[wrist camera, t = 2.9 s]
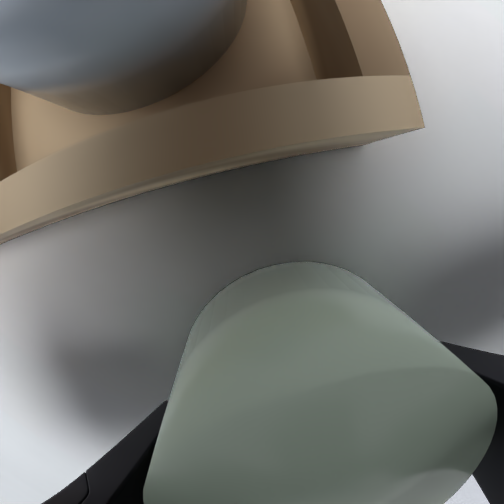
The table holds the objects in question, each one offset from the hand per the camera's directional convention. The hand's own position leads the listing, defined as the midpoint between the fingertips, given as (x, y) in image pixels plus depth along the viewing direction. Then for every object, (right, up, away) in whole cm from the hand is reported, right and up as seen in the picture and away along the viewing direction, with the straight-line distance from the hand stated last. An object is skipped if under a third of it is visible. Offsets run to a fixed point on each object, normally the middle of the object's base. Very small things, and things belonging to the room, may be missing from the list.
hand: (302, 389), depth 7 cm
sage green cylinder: (0, 0, +1) cm, 1 cm away
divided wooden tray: (-9, +9, -1) cm, 13 cm away
